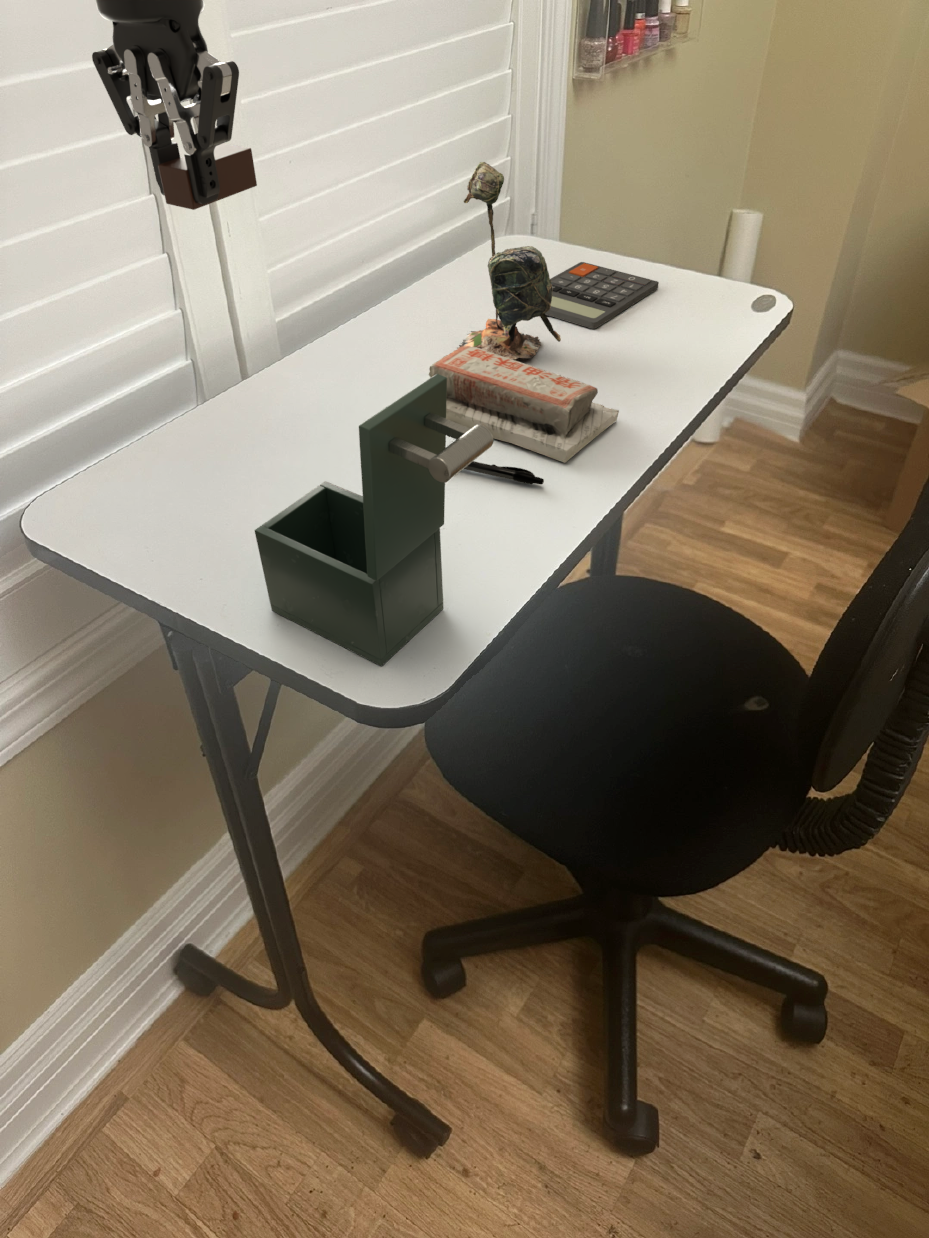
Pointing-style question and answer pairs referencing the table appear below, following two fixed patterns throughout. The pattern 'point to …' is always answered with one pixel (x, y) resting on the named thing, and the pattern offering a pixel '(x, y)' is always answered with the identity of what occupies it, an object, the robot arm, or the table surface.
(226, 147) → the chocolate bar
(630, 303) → the calculator
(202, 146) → the robot arm
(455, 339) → the table surface
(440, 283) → the table surface
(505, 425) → the packaged product
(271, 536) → the green storage bin
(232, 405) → the table surface
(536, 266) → the plant with pod
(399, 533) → the bin lid
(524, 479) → the pen
